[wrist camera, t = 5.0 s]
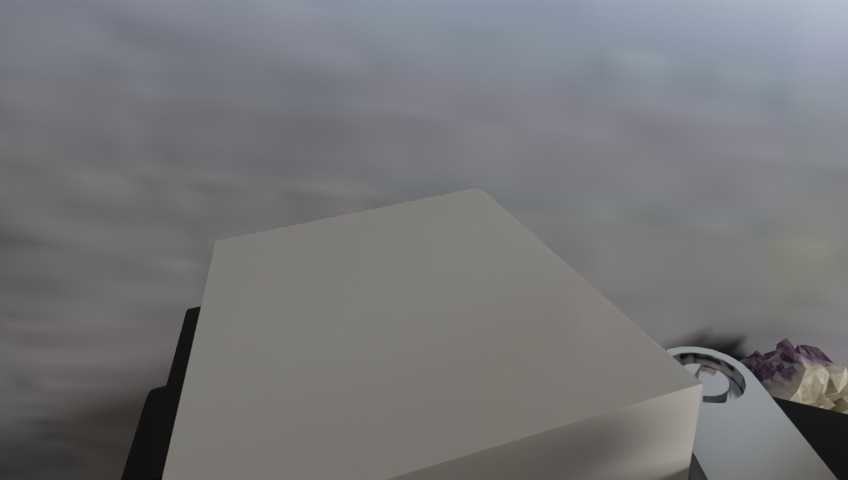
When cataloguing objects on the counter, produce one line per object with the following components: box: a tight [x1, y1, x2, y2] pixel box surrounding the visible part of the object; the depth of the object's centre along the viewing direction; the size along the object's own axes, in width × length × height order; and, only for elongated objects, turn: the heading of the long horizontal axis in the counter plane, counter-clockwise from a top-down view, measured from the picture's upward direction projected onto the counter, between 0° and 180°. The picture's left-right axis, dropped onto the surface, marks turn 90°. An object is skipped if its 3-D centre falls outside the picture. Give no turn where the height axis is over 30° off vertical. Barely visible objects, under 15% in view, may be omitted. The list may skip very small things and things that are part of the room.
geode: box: [739, 338, 848, 414], centre depth 32 cm, size 17×9×15 cm
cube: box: [162, 188, 703, 480], centre depth 8 cm, size 5×5×6 cm
